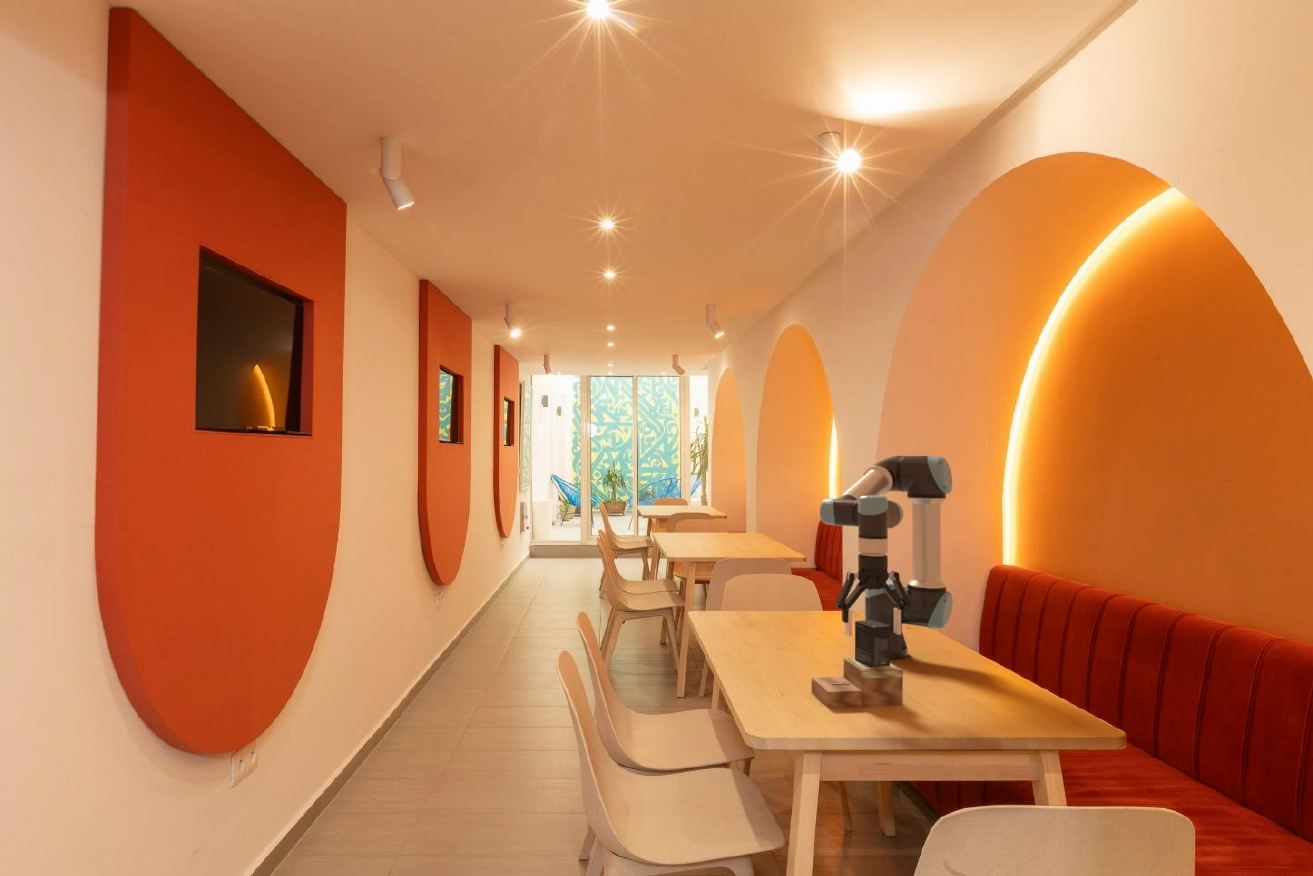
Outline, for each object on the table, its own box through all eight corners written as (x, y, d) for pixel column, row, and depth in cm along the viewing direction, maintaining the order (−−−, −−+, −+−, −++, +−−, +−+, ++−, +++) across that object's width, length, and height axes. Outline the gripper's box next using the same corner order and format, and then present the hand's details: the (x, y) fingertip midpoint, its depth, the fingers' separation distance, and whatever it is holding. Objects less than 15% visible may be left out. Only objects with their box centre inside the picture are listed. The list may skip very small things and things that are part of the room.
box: (890, 666, 191) (890, 625, 192) (872, 668, 189) (872, 626, 190) (871, 658, 199) (871, 619, 199) (854, 660, 197) (854, 620, 197)
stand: (882, 690, 200) (882, 656, 201) (902, 705, 188) (903, 669, 188) (811, 692, 198) (811, 658, 198) (828, 708, 185) (828, 671, 186)
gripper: (910, 551, 200) (910, 629, 200) (822, 552, 197) (822, 632, 196) (924, 555, 193) (924, 636, 192) (833, 556, 189) (833, 639, 189)
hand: (872, 634), depth 194 cm, fingers open, 13 cm apart
